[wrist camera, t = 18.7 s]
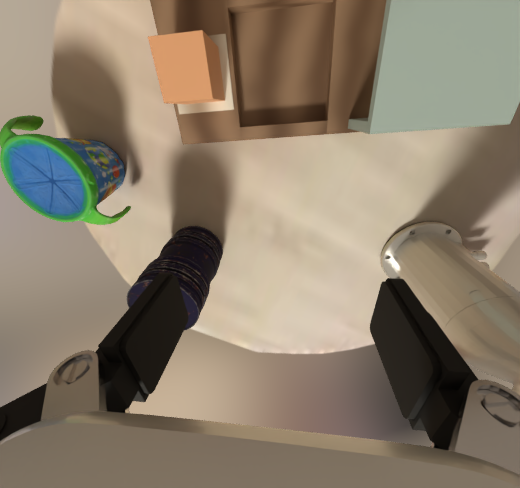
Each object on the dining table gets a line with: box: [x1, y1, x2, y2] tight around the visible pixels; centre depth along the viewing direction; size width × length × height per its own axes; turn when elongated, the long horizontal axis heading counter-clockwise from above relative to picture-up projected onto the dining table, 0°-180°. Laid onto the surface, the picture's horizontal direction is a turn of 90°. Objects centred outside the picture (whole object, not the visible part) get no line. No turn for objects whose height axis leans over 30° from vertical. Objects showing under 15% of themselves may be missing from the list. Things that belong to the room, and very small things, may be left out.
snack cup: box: [0, 116, 131, 225], centre depth 31 cm, size 16×10×10 cm
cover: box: [348, 0, 520, 134], centre depth 20 cm, size 12×13×8 cm
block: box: [148, 30, 225, 104], centre depth 23 cm, size 5×5×6 cm
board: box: [150, 0, 386, 144], centre depth 27 cm, size 25×14×3 cm, turn 94°
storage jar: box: [127, 226, 223, 330], centre depth 36 cm, size 10×10×15 cm
